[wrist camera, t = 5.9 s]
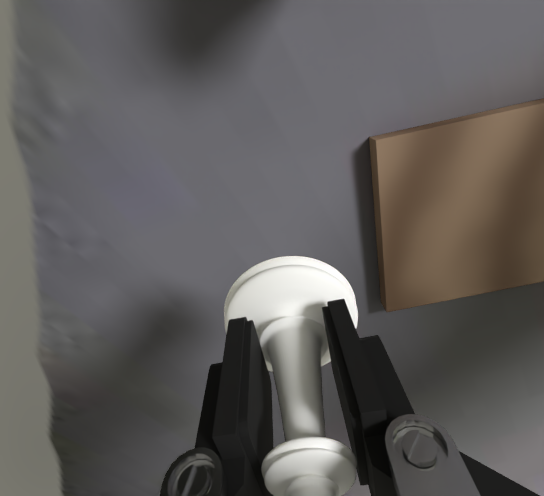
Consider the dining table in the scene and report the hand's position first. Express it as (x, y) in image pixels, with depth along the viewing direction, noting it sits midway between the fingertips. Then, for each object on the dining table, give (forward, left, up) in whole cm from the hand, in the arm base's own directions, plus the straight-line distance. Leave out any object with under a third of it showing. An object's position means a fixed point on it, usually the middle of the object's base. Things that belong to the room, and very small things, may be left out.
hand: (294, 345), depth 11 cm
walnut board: (-15, +2, -11) cm, 19 cm away
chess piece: (0, 0, -2) cm, 2 cm away
